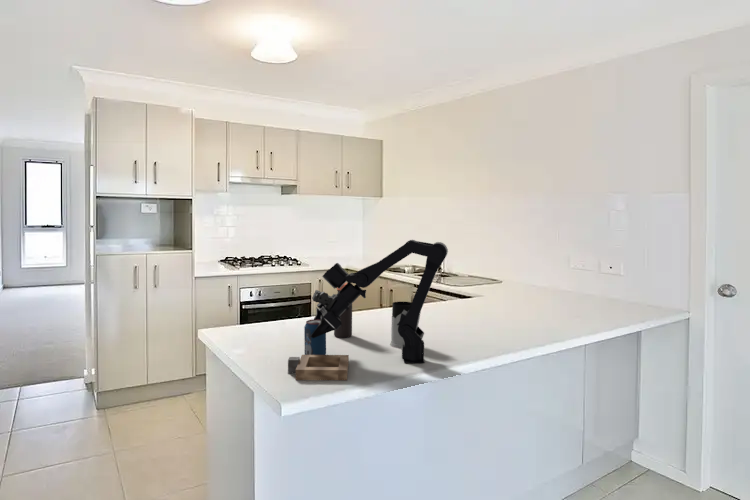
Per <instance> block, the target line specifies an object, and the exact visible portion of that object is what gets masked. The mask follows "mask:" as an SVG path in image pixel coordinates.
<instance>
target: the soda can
mask: <svg viewBox="0 0 750 500" xmlns="http://www.w3.org/2000/svg"><path fill="white" fill-rule="evenodd" d="M313 319H314V318H313ZM313 319H307V320H306V322H305V325H304V327H303V329H304V330H303V331H304V334H303V335H304V339H303V340H304V355H327V333H325V334H322V335H320V336H318V337H315V338H312V337H311V335H312V333H313V332H314V330H315V329H316V328H317V326H318V325H319V324H320V322H321V320H319V319H314V320H313Z"/></svg>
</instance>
